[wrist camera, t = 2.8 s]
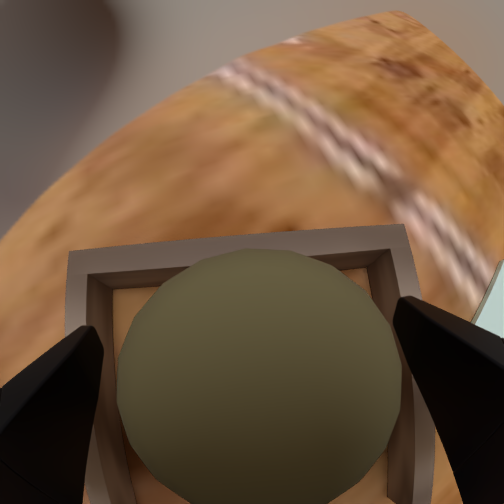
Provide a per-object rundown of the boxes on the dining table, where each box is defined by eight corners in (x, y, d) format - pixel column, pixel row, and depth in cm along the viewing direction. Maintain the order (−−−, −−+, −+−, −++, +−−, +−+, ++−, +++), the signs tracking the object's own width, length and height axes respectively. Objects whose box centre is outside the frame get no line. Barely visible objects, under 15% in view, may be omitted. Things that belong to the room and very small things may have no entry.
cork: (300, 301, 15) (412, 183, 5) (316, 415, 13) (455, 503, 3) (182, 314, 15) (63, 217, 4) (195, 430, 13) (106, 557, 2)
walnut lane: (404, 489, 11) (430, 506, 8) (123, 520, 10) (104, 542, 7) (380, 245, 16) (403, 223, 13) (94, 269, 15) (69, 251, 12)
